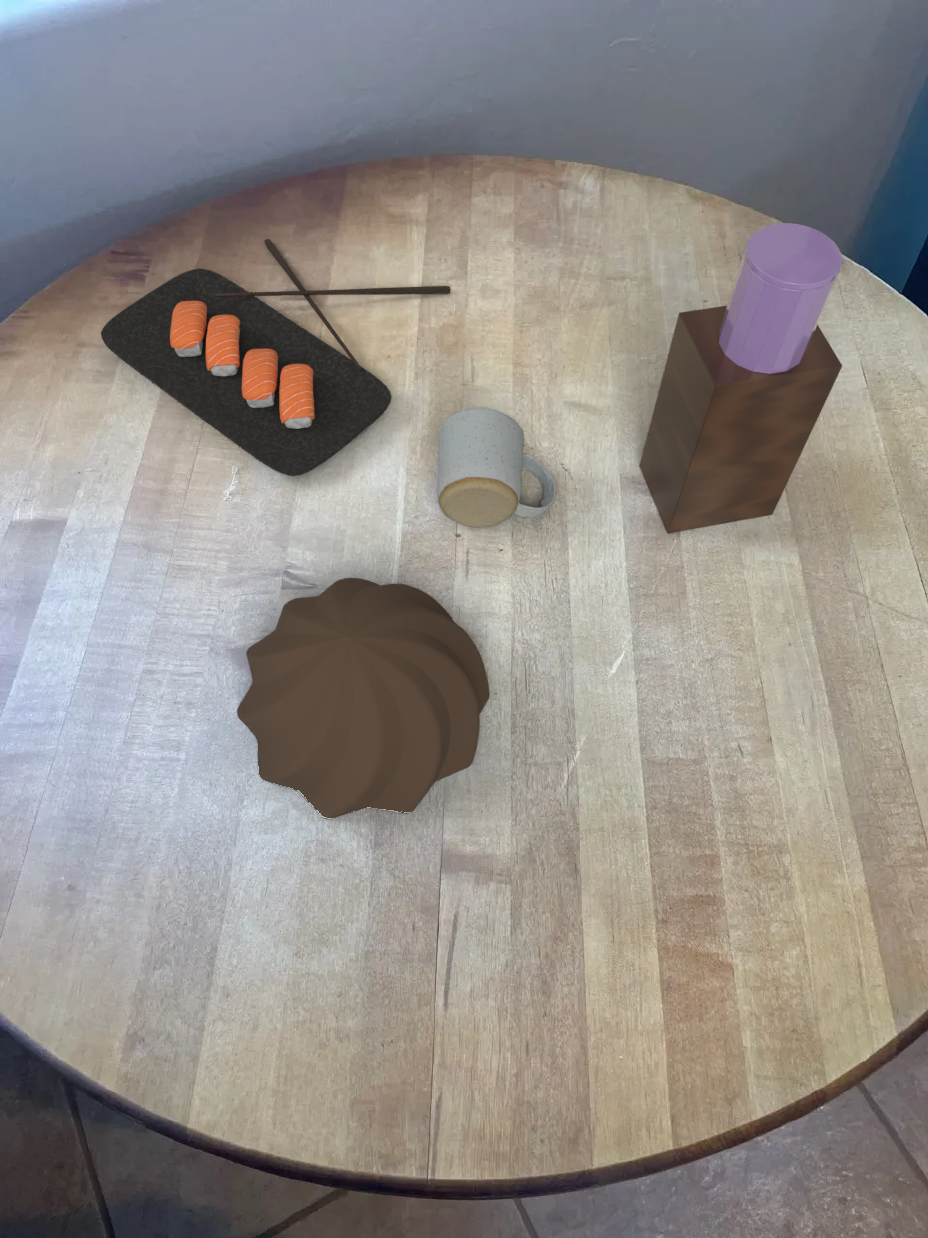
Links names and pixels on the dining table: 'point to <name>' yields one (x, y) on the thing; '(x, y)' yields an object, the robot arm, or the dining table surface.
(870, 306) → the dining table surface
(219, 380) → the sushi plate
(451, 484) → the ceramic mug
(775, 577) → the dining table surface
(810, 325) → the tumbler
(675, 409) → the block
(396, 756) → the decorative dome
